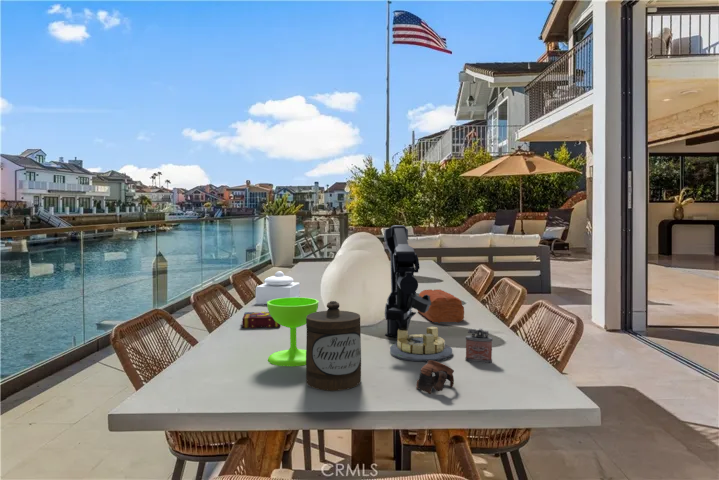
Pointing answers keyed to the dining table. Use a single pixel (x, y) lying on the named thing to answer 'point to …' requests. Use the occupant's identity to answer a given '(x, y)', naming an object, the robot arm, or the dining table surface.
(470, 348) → the lighter
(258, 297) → the white lidded box
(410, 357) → the grey round tray
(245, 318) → the decorative book
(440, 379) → the brown leather rounded piece
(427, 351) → the tan segmented ring
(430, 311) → the bread
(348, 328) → the wooden container
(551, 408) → the dining table surface
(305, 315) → the wineglass
